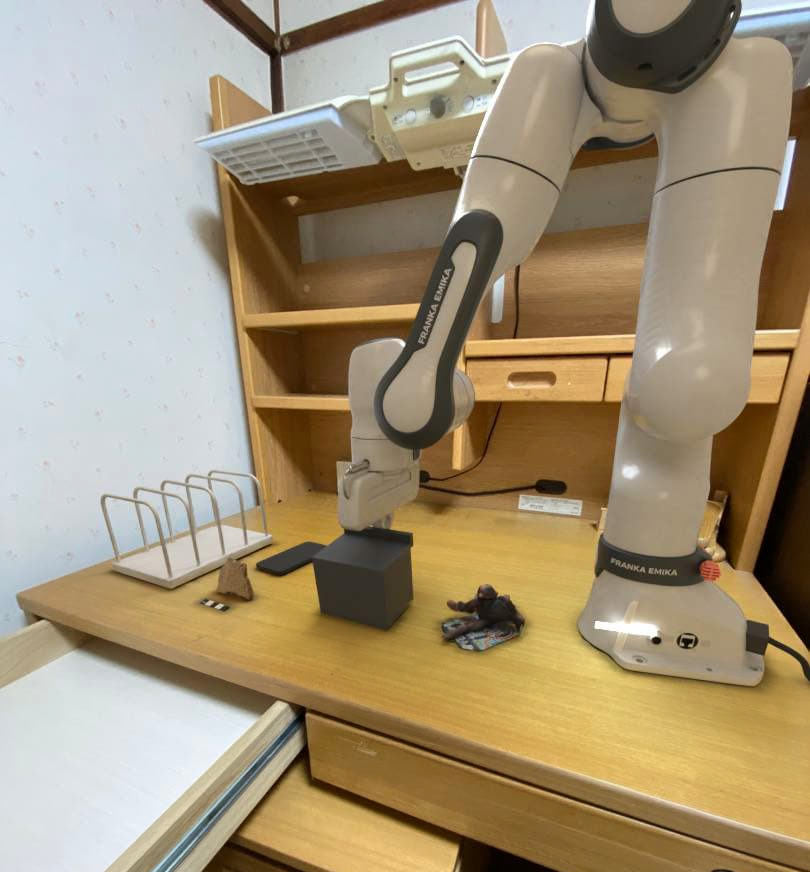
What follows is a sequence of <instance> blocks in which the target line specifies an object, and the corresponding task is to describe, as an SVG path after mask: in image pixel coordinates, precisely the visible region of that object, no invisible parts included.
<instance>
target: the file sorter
mask: <svg viewBox="0 0 810 872" xmlns="http://www.w3.org/2000/svg"><path fill="white" fill-rule="evenodd" d="M213 474H221V475H230V476H237V477H245V478H250V479H252V480H253V481H254V482H255V484H256V487H257V492H258V497H259V504H260V512H261V517H262V518H261V519H262V525H263V531H264V533H263V532H260V531H256V530H255V531H254V530H251V529H250V530H249V529H247V524H246V516H245V515H246V514H245V507H244V498H243V492H242V490H241V488H240V486H239V484H238V483H237V482H236V481H234V480H232V479H227V478H222V477H215V476H212V475H213ZM191 478H198V479H203V480H207V485H208V487H206V486H203V485H198V484H192V483H189V481H190V479H191ZM212 481H215V482H221V483H228V484H231V485H232V486H234V487H235V490H236V491H237V495H238V502H239V508H240V509H239V510H240V516H241V517H240V518H241V525H242V528H240V527H235V526H230V525H225V524H222V522H221V518H220V512H219V505H218V500H217V498H216V495H215V494H214V491H213V486H212ZM166 484H171V485H177V486H182V487H184V488H185V491H186V497H187V500H186V499H185V497H184V496H182V494H181V495H180V494H179V493H173V492H168V491H165V485H166ZM190 488H192V489H196V490H200V491H205V492H206V493H207V494H208V495H209V496H210V502H211V507H212V512H213V517H214V523H215V525H213V526H209V527H206V528H204V529H201V530H199V531H198V527H197V521H196V515H195V512H194V506H193V501H192V496H191V491H190ZM159 489H160V490H159ZM159 489H155V488H150V487H145V486H137V487H135V488H134V489H133V492H132V497H129V496H123V495H119V494H113V493H104V494H102V495H101V497H100V506H101V510H102V514H103V517H104V520H105V524H106V527H107V532H108V535H109V538H110V542H111V545H112V548H113V552H114V556H115V559H116V561H113V562H112V564H111V565H112V568H113V571H114V572H116V573H120V574H123V575H125V576H130V577H133V578H136V579H140V580H143V581H145V582H149V583H152V584H154V585H157V586H161V587H164V588H167V589H170V590H171V589H175V588H176V587H178V586H181V585H184V584H185V583H187V582H189V581H191V580H194V579H196V578H197V577H200V576H202V575H204V574H207V573H209V572H211V571H213V570H216V569H218V568H220V567H223V566H224V565H225V564H226V561H227V558H232V559H234V560H237V559H239V558H241V557H244V556H246V555H248V554H250V553H253V552H255V551H258V550H260V549H261V548H263V547H266V546H268V545H270V544H273V543H274V536H273V535H272V534H269V532H268V525H267V519H266V518H267V517H266V510H265V504H264V497H263V491H262V486H261V483H260V480H258V478H257V477H256V476H255V475H253V474H251V473H245V472H237V471H229V470H221V469H211V470H210V471H208V473H207V475H203V474H198V473H189V474H187V475H186V476H185V479H184V482H183V481H177V480H173V479H172V480H171V479H164V480H163V481H162V482H161V483H160V488H159ZM139 491H144V492H148V493H153V494H158V495H161V500H162V504H163V508H164V509H163V510H164V514H165V518H166V523H167V528H168V533H169V537H170V541H169V542H166V541H165V536H164V532H163V528H162V524H161V519H160V516H159V513H158V511H157V509H156V508H155V506H154V505H153V504H152V503H150V502H149V501H147V500H143V499H138V492H139ZM167 497H172V498H176V499H177V500H179V501H181V503H182V504H183V505H184V508H185V510H186V511H185V512H186V515H187V520H188V525H189V531H190V534H187V535H185V536H182V537H180V538H176V539H175V536H174V531H173V527H172V523H171V522H172V521H171V517H170V513H169V507H168V502H167ZM106 498H110V499H115V500H120V501H125V502H130V503H134V506H135V509H136V514H137V519H138V523H139V528H140V533H141V537H142V543H143V545H144V551H141V552H138V553H135V554H133V555H130V556H127V557H124V558H121V556H120V552H119V549H118V545H117V542H116V538H115V534H114V531H113V527H112V524H111V520H110V517H109V513H108V509H107V505H106ZM140 505H143V506H146V507H148V509H150V511H151V512H152V514H153V518H154V521H155V525H156V529H157V534H158V538H159V541H160V545H158V546H154V547H152V548H149V547H150V546H149V543H148V538H147V533H146V530H145V526H144V522H143V517H142V512H141V508H140Z"/></svg>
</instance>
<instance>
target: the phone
mask: <svg viewBox="0 0 810 872" xmlns="http://www.w3.org/2000/svg"><path fill="white" fill-rule="evenodd" d="M326 546H328V544H323V543H318V542H315V541H304V542H301V543H299V544H296V545H295V546H292V547H289V548H288V549H286V550H283V551H281V552H278V553H276V554H274V555H271V556H269V557H267V558H265V559H261V560H259V561H258V562H256V563H255V568H256V569H257V570H261V571H263V572H264V571H265V572H268V573H271V574H273V575H278V576H280V575H284V574H287V573H289V572H291V571H293V570H295V569H297V568H300V567H302V566H304V565H306V564H308V563H310V562H312V557H313V556H314V555H316V554H317V553H318V552H320V551H321V550H322V549H324V548H325V547H326Z"/></svg>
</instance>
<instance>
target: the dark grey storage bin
mask: <svg viewBox="0 0 810 872" xmlns="http://www.w3.org/2000/svg"><path fill="white" fill-rule="evenodd" d="M413 547H414V533H413V532H409V531H403V530H397V529H391V530H390V529H382V528H376V527H373V526H371V525H370V526H368V527H366V528H365V529H363V530H361V531H354V530H348V529H343V533H342V534H341V535H340V536H338V537H337V538H335V539H334V540H333V541H331V543H329V544H327V546H326V547H325V548H324V549H322V550H321V551H320V552H318V553H317V554H316V555H314V556H313V557H312V561H311V562H312V567H313V573H314V580H315V586H316V593H317V598H318V599H317V600H318V603H319V605H318V606H319V611H320V614H322V615H326V616H331V617H333V618H334V617H335V618H338V619H343V620H347V621H350V622H354V623H358V624H362V625H366V626H370V627H374V628H376V629H377V628H378V629H381V630H386V631H389V630H390V629H391V627H392V626H393V625H394V624H395V623H396V621H397V620H398V619H399V617H400V616H401V615H402V614H403V613H404V611H405V610H406V608H407V607H408V606H409V605H410V604H411V602H412V601H413V600H414V584H413V566H412V564H413V563H412V548H413Z"/></svg>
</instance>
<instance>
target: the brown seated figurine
mask: <svg viewBox="0 0 810 872" xmlns="http://www.w3.org/2000/svg"><path fill="white" fill-rule="evenodd" d="M446 606H447V607H448V608H449V609H450V611H452V612H457V613H458V612H459V613H461V614H462V613H463V614H466V615H465V616H460V617H457V618H455V619H452V620H450V621H445V622H442V623H441V630H442V632H444V633H443V634H441V638H442V639H443V640H446V641H448V642H452V643H456V644H457V647H460V649H462V650H470V651H477V652H479V651H484V650H487V649H488V648H491V647H493V646H497V645H498V644H501V643H503V642H505V641H508V640H510V639H512V638H514V637H516V636H519V635H520V634H521V630H522V628H523V626H524V625H525V623H526V619H525V617H524V616H523V614H521V613H520V612H519V611H518V609H516V605H515V604H514V603H513V602H512V600H511V596H510V594H503V595H499V592H498V591H496V590H495V588H494V587H493V586H492V585H491V584H489V583H488V584H487V583H485V584H483V585H479V587H478V589H477V591H476V594H475V595H474V597H473V599H470V600H469V601H467V602H464V601H461V600H459V601H455V600H453V599H448V600H447V601H446ZM475 612H476V613H475ZM474 613H475V614H474ZM453 626H454V628H452V627H453Z"/></svg>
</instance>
